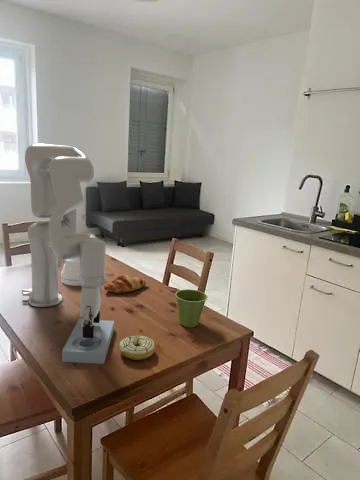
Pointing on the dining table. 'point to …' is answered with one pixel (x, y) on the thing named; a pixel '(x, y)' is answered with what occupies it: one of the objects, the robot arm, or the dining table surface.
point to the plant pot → (190, 306)
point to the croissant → (125, 284)
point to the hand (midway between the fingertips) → (91, 329)
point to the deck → (88, 343)
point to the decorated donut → (137, 347)
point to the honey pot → (71, 272)
